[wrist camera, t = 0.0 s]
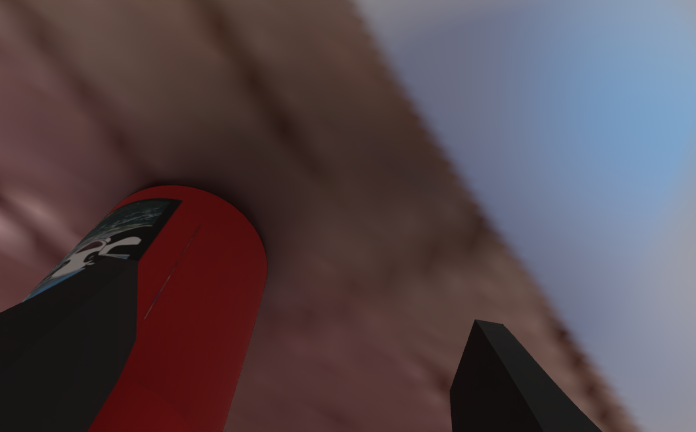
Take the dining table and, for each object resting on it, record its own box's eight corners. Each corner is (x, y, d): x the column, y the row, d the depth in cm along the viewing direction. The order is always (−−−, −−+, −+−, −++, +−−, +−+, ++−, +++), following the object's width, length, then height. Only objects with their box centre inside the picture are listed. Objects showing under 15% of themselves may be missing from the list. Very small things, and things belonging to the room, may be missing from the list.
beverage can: (130, 148, 21) (-119, 362, 10) (296, 217, 22) (229, 477, 11) (90, 284, 24) (-140, 567, 13) (239, 340, 25) (141, 645, 14)
